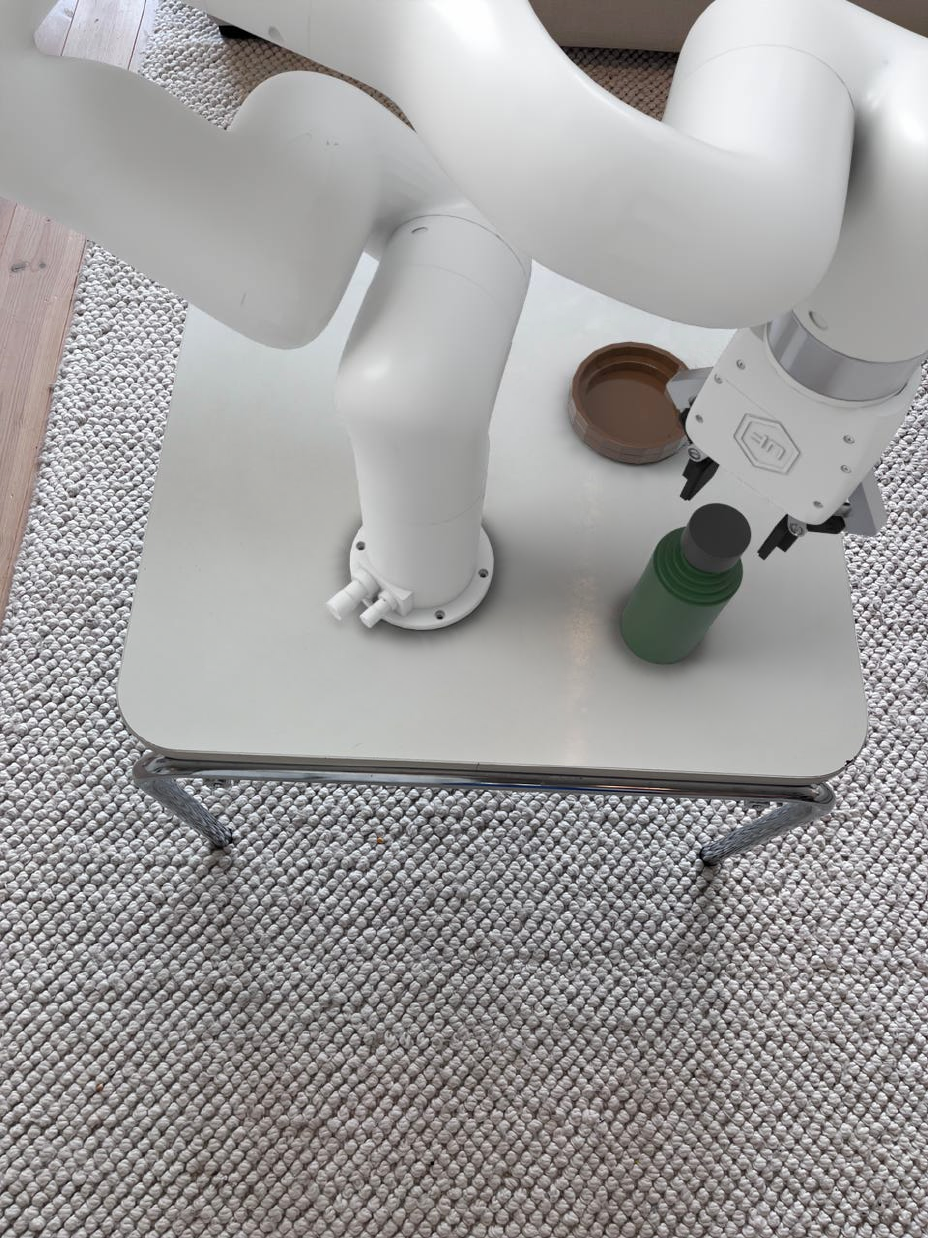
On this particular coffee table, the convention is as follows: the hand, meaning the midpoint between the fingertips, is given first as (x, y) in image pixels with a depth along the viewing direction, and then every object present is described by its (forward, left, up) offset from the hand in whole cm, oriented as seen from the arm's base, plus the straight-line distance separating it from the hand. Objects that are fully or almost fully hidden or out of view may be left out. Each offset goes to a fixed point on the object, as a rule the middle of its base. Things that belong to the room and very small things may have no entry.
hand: (734, 513), depth 60 cm
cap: (0, 0, -3) cm, 3 cm away
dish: (+16, +16, -20) cm, 30 cm away
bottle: (0, 0, -20) cm, 20 cm away
